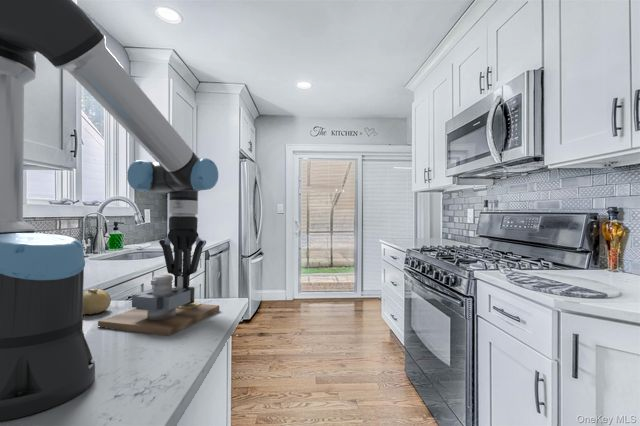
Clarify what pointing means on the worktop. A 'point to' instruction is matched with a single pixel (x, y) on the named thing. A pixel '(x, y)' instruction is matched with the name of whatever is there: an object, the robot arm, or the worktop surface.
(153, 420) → the worktop surface
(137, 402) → the worktop surface
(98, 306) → the onion
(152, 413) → the worktop surface
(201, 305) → the base
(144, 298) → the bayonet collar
